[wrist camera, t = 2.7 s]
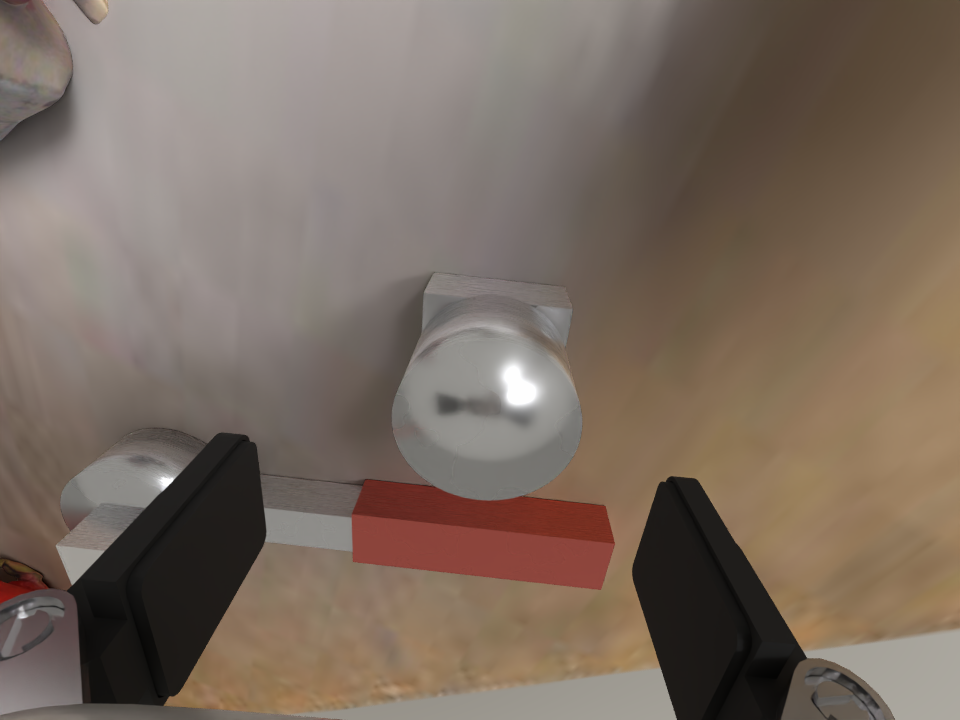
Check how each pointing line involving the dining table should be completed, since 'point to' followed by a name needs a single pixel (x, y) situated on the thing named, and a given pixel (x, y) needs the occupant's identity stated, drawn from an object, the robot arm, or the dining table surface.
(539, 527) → the ratchet
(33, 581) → the dragon fruit
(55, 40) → the brake caliper
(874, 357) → the dining table surface
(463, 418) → the socket
